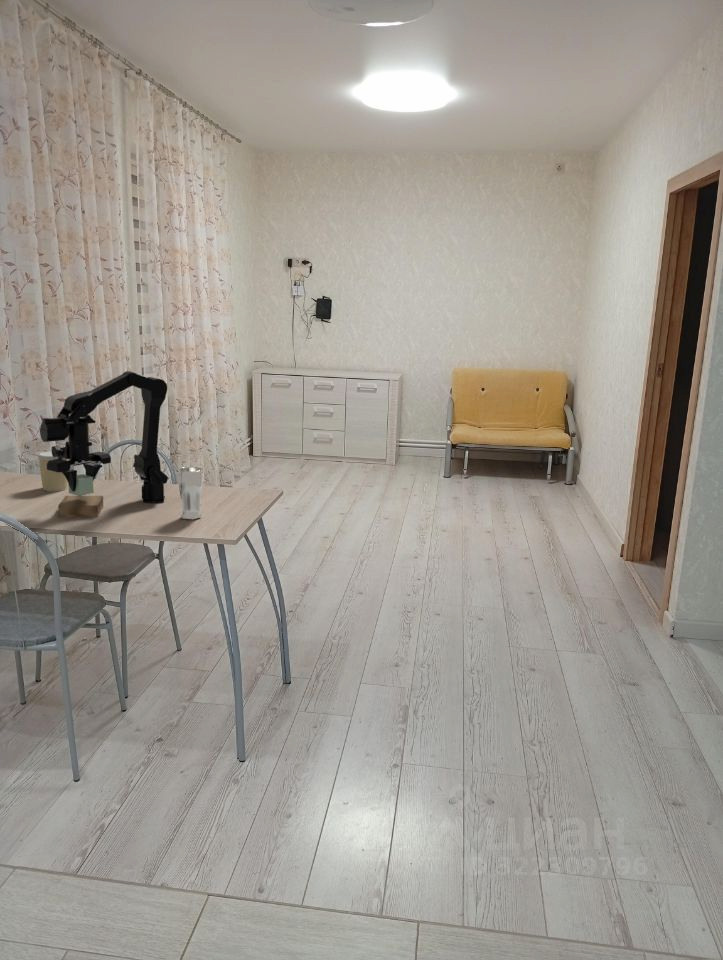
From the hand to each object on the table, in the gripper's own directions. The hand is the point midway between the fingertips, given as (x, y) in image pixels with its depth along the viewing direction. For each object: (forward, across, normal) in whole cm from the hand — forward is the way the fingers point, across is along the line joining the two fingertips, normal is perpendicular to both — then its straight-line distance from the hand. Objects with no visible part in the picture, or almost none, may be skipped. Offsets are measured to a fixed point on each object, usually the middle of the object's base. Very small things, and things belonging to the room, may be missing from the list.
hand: (81, 489), depth 227 cm
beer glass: (+7, -18, +28) cm, 34 cm away
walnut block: (+7, 0, 0) cm, 7 cm away
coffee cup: (+7, -11, -29) cm, 32 cm away
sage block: (+1, 0, 0) cm, 1 cm away
